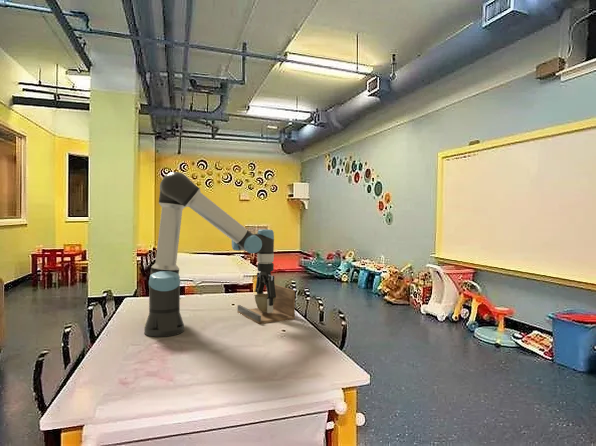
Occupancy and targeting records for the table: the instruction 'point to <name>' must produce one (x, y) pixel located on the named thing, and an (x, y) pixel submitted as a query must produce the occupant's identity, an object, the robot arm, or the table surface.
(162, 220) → the robot arm
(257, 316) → the brown piece
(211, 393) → the table surface
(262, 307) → the flower pot
